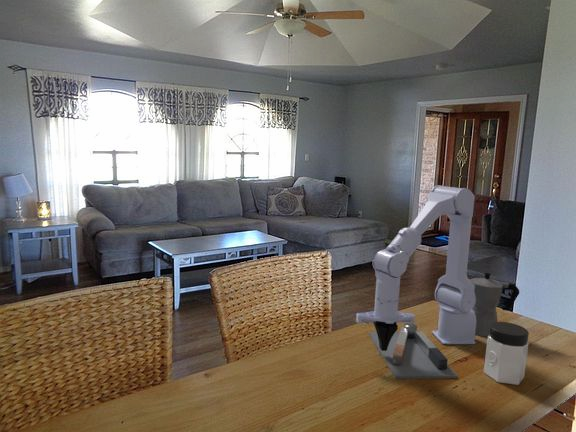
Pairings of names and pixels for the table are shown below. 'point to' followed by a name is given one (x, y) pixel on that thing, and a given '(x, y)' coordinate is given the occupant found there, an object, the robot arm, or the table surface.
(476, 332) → the coffeepot
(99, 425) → the table surface
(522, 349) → the jar
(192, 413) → the table surface
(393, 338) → the slate mat
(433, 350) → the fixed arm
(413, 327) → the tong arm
